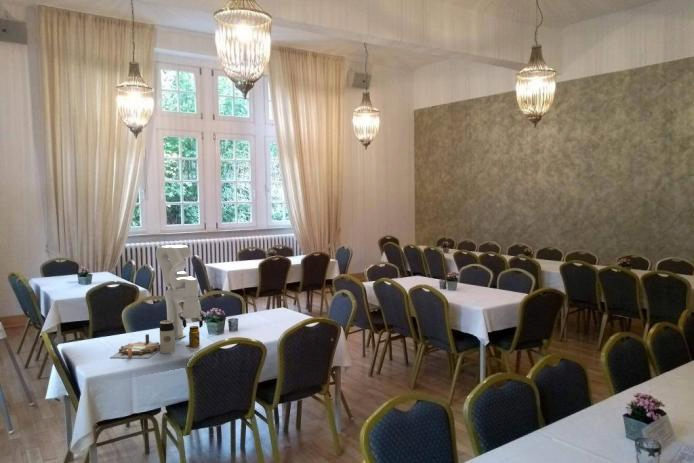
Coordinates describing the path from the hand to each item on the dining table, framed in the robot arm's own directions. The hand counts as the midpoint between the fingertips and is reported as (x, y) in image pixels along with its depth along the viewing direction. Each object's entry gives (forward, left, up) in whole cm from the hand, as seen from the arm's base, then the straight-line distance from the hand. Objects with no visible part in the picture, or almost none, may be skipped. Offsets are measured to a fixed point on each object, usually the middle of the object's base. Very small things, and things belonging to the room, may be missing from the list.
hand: (192, 327), depth 328 cm
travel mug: (+11, -11, -12) cm, 20 cm away
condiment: (-1, 0, -12) cm, 12 cm away
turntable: (+9, -28, -12) cm, 32 cm away
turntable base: (+11, -28, -12) cm, 33 cm away
